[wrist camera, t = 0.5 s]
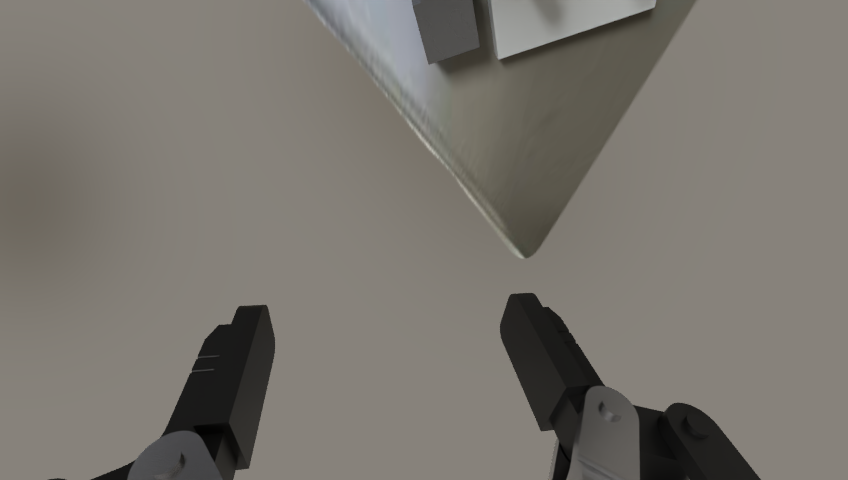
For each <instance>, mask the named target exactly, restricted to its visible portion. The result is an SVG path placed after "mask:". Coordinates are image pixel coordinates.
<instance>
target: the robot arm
mask: <svg viewBox="0 0 848 480" xmlns="http://www.w3.org/2000/svg"><path fill="white" fill-rule="evenodd" d="M500 333H501V339H502V341H503V344H504V346H505V348H506V351H507V353H508V355H509V358H510V360H511V362H512V364H513V367H514V369H515V372H516V374H517V376H518V379H519V381H520V383H521V386H522V388H523V390H524V393H525V395H526V397H527V400H528V402H529V404H530V407H531V409H532V411H533V414H534V416H535V418H536V421H537V422H538V425H539V427H540V430H541V431H548V430H554V431H555V433H556V435H557V437H558V439H557V440H556V443H555V447H554V453H553V458H552V463H551V468H550V473H549V479H548V480H761V479H760V478H759V477H758V476H757V474H756V473H755V472H754V471H753V470H752V468H751V467H750V466H749V464H748V463H747V462H746V461H745V459H744V458H743V457H742V455H741V454H740V453H739V452H738V450H737V449H736V448H735V447H734V445H733V444H732V443H731V442H730V440H729V439H728V438H727V437H726V435H725V434H724V433H723V431H722V430H721V429H720V428H719V426H717V424H716V423H715V422H714V421H713V420H712V419H711V418H710V417H709V416H707V415H706V414H705V413H704V412H702V411H701V410H699V409H697V408H695V407H693V406H691V405H688V404H684V403H674V404H672V405H670V406H669V407H668V408H667V410H666V411H665V412H661V411H657V410H652V409H648V408H643V407H639V406H635V405H632V404H631V403H630V401H629V400H628V399H627V398H626V397H625V396H623V395H622V394H621V393H619V392H618V391H616V390H614V389H612V388H609V387H606V386H605V385H604V384H603V383H602V381H601V380H600V378H599V376H598V375H597V373H596V372H595V370H594V369H593V367H592V366H591V364H590V362H589V361H588V359H587V358H586V356H585V355H584V353H583V352H582V350H581V348H580V347H579V345H578V344H576V342H575V339H574V338H573V336H572V334H571V333H569V330H568V328H567V327H566V325H565V324H564V322H563V320H562V319H561V318H560V317H559V316H558V315H557V314H556V313H555V312H553V311H552V310H551V309H550V308H549V307H542V305H541V303H540V302H539V300H538V298H537V297H536V295H535V294H533V293H520V294H511V295H510V297H509V299H508V302H507V305H506V308H505V311H504V314H503V317H502V320H501V324H500ZM274 353H275V337H274V333H273V328H272V324H271V320H270V315H269V311H268V307H267V306H266V305H253V306H239V307H238V309H237V310H236V314H235V316H234V318H233V321H232V324H227V325H218V326H217V328H216V329H215V330H214V331H213V332H212V333H211V334H210V335H209V336H208V337H207V338H206V339H205V341H204V343H203V345H202V348H201V350H200V352H199V354H198V359H197V360H196V361H195V364H194V366H193V368H192V373H191V374H190V375H189V377H188V380H187V382H186V384H185V387H184V389H183V391H182V394H181V396H180V398H179V400H178V402H177V405H176V407H175V410H174V412H173V414H172V416H171V418H170V421H169V423H168V426H167V427H166V429H165V431H164V433H163V435H162V436H161V437H160V438H159V439H158V440H156V441H155V442H153V443H152V444H151V445H149V446H148V447H147V448H146V449H145V450H144V451H143V452H142V453H141V454H140V455H139V456H138V458H137V459H136V460H135V461H133V462H131V463H129V464H128V465H125V466H123V467H121V468H119V469H116V470H114V471H111V472H109V473H107V474H104V475H101V476H99V477H96V478H94V479H91V480H233V478H234V474H235V470H241V469H248V468H249V466H250V461H251V456H252V452H253V448H254V443H255V439H256V434H257V430H258V426H259V421H260V417H261V412H262V408H263V403H264V399H265V394H266V390H267V385H268V381H269V377H270V372H271V368H272V363H273V359H274ZM49 480H65V479H58V478H57V479H49Z"/></svg>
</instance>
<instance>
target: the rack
mask: <svg viewBox="0 0 848 480" xmlns="http://www.w3.org/2000/svg"><path fill="white" fill-rule="evenodd" d="M487 1H488V8H489V16H490V23H491V31H492V38H493V46H494V53H495V55H496V57H497V58H498V60H499V59H502V58H505V57H508V56H511V55H514V54H517V53H520V52H523V51H526V50H529V49H532V48H535V47H538V46H541V45H544V44H547V43H550V42H553V41H556V40H559V39H562V38H565V37H568V36H571V35H574V34H577V33H580V32H583V31H586V30H589V29H592V28H595V27H598V26H601V25H604V24H607V23H610V22H613V21H616V20H619V19H622V18H625V17H628V16H631V15H634V14H637V13H640V12H643V11H646V10H649V9H652V8H655V4H656V0H487Z"/></svg>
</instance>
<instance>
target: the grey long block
mask: <svg viewBox="0 0 848 480" xmlns="http://www.w3.org/2000/svg"><path fill="white" fill-rule="evenodd" d="M412 5H413V9H414V12H415V16H416V20H417V23H418V27H419V31H420V34H421V38H422V42H423V45H424V49H425V53H426V56H427V60H428V64H432V63H435V62H438V61H441V60H444V59H447V58H450V57H453V56H456V55H459V54H461V53H464V52H467V51H470V50H473V49H476V48H479V47H480V44H479V38H478V32H477V26H476V19H475V13H474V7H473V1H472V0H412Z"/></svg>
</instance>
